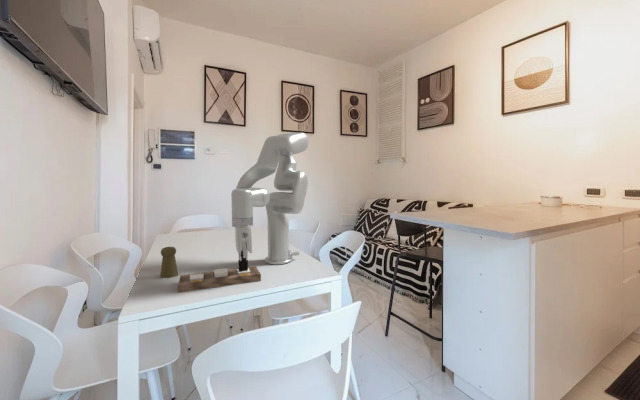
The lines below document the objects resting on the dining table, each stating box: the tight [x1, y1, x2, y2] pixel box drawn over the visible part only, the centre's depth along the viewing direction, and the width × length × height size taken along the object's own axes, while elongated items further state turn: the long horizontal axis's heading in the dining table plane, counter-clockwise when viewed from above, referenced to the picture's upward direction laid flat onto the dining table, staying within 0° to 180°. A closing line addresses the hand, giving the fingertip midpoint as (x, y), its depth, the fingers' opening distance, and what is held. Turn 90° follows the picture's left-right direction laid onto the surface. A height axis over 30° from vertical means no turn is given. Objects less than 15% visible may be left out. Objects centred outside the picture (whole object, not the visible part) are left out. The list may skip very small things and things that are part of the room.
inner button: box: [236, 268, 250, 275], centre depth 102 cm, size 4×4×2 cm
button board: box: [177, 265, 262, 293], centre depth 99 cm, size 27×10×3 cm, turn 114°
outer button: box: [190, 272, 204, 281], centre depth 96 cm, size 4×4×2 cm
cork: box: [160, 246, 179, 279], centre depth 105 cm, size 6×6×11 cm
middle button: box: [213, 267, 228, 278], centre depth 99 cm, size 4×4×2 cm
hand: (243, 270), depth 102 cm, fingers closed
